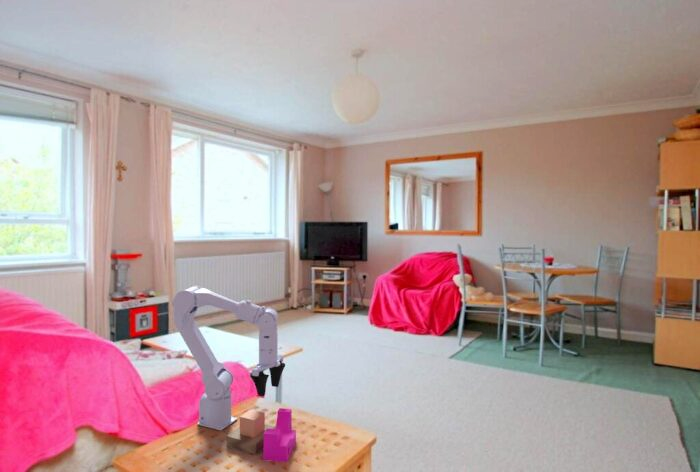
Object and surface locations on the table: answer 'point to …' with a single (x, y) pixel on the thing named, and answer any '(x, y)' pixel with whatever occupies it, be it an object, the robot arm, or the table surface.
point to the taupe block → (247, 441)
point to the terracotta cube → (252, 423)
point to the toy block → (280, 437)
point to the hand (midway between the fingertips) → (268, 390)
